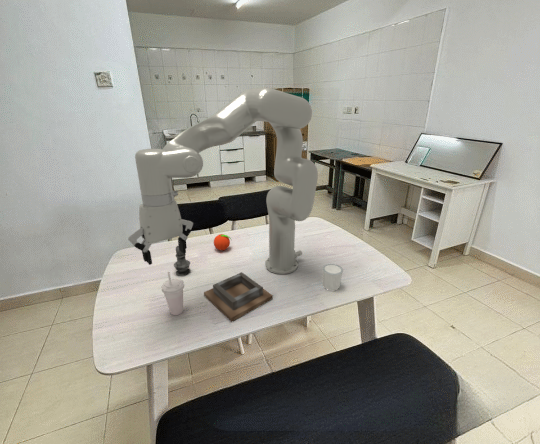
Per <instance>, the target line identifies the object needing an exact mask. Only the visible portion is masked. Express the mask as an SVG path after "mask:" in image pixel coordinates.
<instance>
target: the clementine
mask: <svg viewBox="0 0 540 444" xmlns="http://www.w3.org/2000/svg"><path fill="white" fill-rule="evenodd" d="M231 240H232V238H231V237H230V236H229V235H227V234H224V233H220V234H218V235H216V236H215V237H214V239H213V246H214V248H216V249H217V250H218V251H225V250H228V248H229V247H230V245H231Z"/></svg>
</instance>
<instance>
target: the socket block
mask: <svg viewBox="0 0 540 444" xmlns="http://www.w3.org/2000/svg"><path fill="white" fill-rule="evenodd" d="M203 296H204V297H205V298H206V299H207V300H208V301H209V302H210V303H211V304H212V305H213V306H214V307H215V308H217V310H218V311H219V312H220V313H222V314H223V315H224V317H225V318H227V320H229V321H230V322H231V323H232V321H233V322H234V321H236V320H238V319H240V318H241V317H243V316H245V315H247V314H249V313H251V312H252V311H254V310H256V309H258V308H260V307H261V306H263V305H265V304H267V303H269V302H270V301H272V300H273V298H274V297H273V296H274V295H273V294H272V293H270V292H269V291H267V289H265V288H264V287H263V286H262V285H261V284H259V283H257V282H256V281H255V280H253V279H252V278H251V277H249V276H248V275H246V274H245V273H244V272H243V271H241V272H239V273H237V274H235V275H231V276H230V277H228V278H226V279H224V280H221V281H219V282H216V283H214V284H212V288H210V289H208V290H206V291H204V292H203Z"/></svg>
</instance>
